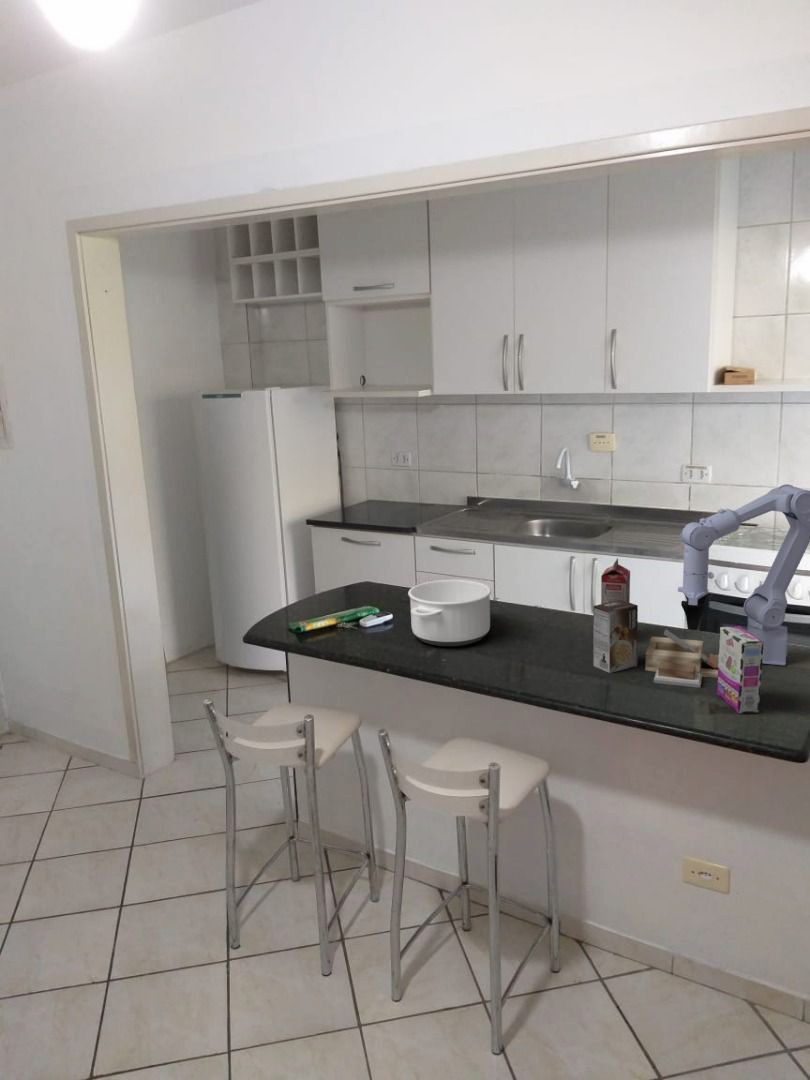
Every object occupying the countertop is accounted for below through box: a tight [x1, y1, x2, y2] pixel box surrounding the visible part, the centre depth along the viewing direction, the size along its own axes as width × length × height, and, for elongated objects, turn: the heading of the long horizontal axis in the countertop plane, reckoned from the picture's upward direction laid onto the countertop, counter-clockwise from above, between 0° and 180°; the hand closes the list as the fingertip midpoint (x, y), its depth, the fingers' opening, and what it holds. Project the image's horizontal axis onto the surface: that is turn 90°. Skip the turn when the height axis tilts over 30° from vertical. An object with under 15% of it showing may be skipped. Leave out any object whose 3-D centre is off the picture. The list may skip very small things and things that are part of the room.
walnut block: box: [658, 662, 696, 680], centre depth 202 cm, size 8×4×2 cm, turn 65°
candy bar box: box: [716, 625, 764, 715], centre depth 186 cm, size 11×5×16 cm, turn 5°
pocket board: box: [644, 636, 719, 679], centre depth 211 cm, size 17×13×4 cm
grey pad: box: [653, 670, 703, 689], centre depth 202 cm, size 10×6×1 cm, turn 68°
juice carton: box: [600, 557, 631, 604], centre depth 229 cm, size 7×7×22 cm
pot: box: [407, 579, 492, 647], centre depth 238 cm, size 33×23×14 cm
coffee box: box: [592, 600, 639, 674], centre depth 211 cm, size 9×6×16 cm
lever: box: [663, 629, 719, 670], centre depth 210 cm, size 15×6×2 cm
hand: (693, 624), depth 210 cm, fingers open, 7 cm apart
